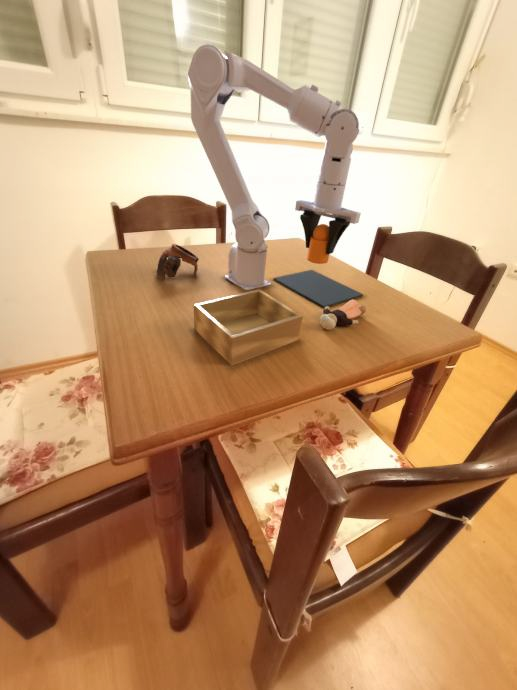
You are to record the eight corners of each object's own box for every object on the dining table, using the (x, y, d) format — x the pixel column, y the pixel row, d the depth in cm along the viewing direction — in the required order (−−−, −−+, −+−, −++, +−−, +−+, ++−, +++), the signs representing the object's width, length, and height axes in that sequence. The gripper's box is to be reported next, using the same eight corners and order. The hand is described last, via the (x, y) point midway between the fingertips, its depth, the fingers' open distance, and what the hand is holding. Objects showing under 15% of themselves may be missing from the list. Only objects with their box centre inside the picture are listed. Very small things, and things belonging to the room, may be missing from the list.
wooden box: (194, 331, 57) (193, 304, 54) (257, 313, 65) (259, 288, 62) (231, 367, 49) (232, 338, 46) (298, 342, 57) (302, 315, 54)
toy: (303, 259, 72) (308, 223, 67) (313, 255, 75) (320, 220, 70) (321, 265, 69) (328, 228, 65) (331, 261, 72) (339, 225, 68)
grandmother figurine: (372, 302, 65) (342, 319, 57) (369, 319, 67) (340, 338, 58) (339, 295, 70) (307, 309, 61) (337, 311, 71) (306, 327, 63)
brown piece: (158, 268, 82) (172, 240, 80) (190, 286, 84) (205, 259, 82) (145, 273, 71) (161, 241, 69) (182, 294, 73) (199, 263, 71)
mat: (273, 279, 81) (273, 278, 81) (311, 271, 89) (311, 269, 88) (323, 308, 70) (324, 306, 69) (362, 295, 77) (363, 294, 77)
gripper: (291, 178, 64) (283, 245, 72) (355, 190, 57) (339, 262, 64) (309, 177, 69) (300, 240, 76) (371, 188, 62) (354, 255, 69)
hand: (319, 250), depth 71 cm, fingers closed on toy, 5 cm apart
